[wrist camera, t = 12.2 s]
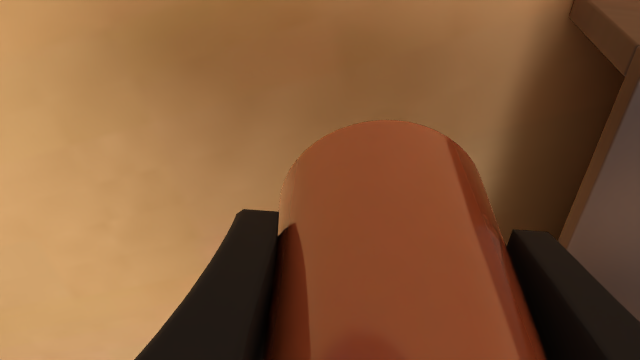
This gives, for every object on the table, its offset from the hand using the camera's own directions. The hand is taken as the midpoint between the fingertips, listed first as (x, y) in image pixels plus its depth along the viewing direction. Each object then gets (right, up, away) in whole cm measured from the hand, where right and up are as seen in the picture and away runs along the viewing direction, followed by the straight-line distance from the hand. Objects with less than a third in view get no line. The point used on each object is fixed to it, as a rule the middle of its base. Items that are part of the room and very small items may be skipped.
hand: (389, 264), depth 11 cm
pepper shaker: (0, +1, +1) cm, 2 cm away
